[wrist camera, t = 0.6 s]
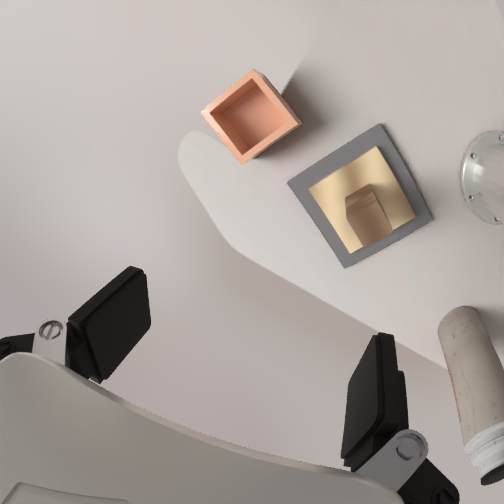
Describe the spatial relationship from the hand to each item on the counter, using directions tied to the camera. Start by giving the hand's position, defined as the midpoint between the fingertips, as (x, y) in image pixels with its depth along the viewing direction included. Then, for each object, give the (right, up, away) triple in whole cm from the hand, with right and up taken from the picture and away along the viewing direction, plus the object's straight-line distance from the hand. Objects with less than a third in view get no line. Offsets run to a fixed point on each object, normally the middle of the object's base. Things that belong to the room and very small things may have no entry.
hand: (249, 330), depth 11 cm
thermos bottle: (+34, -9, +28) cm, 45 cm away
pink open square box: (+1, +20, +24) cm, 31 cm away
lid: (+14, +9, +24) cm, 29 cm away
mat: (+14, +10, +24) cm, 30 cm away
